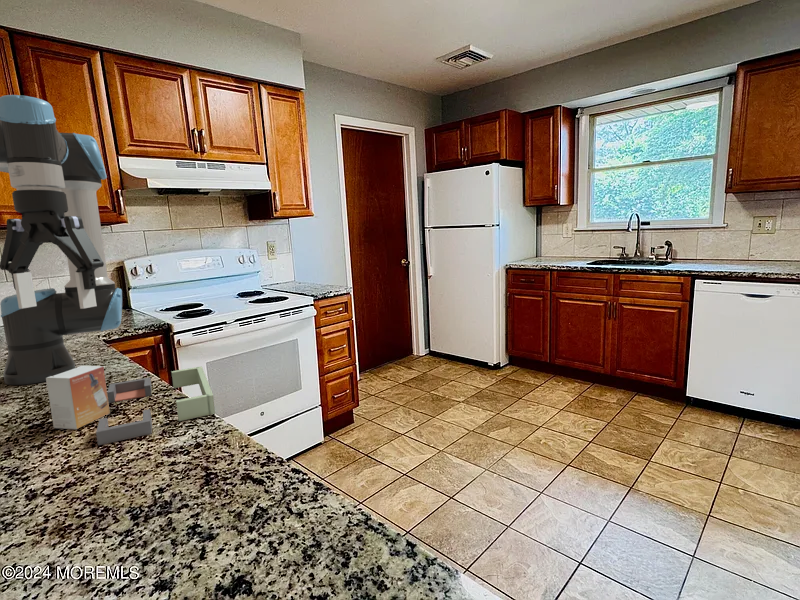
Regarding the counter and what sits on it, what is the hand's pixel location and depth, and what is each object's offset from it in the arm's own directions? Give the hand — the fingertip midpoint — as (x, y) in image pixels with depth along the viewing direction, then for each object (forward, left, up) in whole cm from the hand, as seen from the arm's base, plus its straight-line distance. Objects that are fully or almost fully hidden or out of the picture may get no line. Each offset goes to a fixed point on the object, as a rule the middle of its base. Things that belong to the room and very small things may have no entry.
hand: (57, 307), depth 81 cm
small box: (-4, 0, -24) cm, 25 cm away
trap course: (-4, +14, -24) cm, 28 cm away
